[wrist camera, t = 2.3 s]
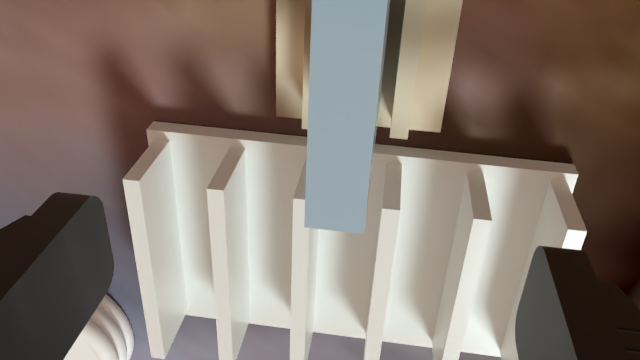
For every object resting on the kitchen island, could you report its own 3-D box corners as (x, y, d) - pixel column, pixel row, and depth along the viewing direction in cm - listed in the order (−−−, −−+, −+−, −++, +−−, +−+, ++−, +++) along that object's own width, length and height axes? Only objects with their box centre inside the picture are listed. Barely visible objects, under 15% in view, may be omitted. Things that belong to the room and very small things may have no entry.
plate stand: (281, -168, 23) (265, -166, 21) (486, -158, 23) (494, -154, 20) (280, 107, 30) (267, 135, 27) (439, 123, 29) (441, 152, 26)
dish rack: (153, 121, 31) (112, 168, 27) (573, 164, 29) (600, 223, 25) (175, 301, 38) (145, 362, 34) (516, 346, 36) (529, 416, 32)
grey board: (352, -133, 23) (315, -102, 14) (404, -131, 23) (397, -97, 14) (337, 103, 28) (304, 227, 20) (379, 107, 28) (363, 234, 19)
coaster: (165, 337, 40) (145, 378, 38) (81, 387, 45) (57, 427, 42) (50, 241, 37) (19, 278, 34) (-29, 304, 41) (-63, 342, 39)
